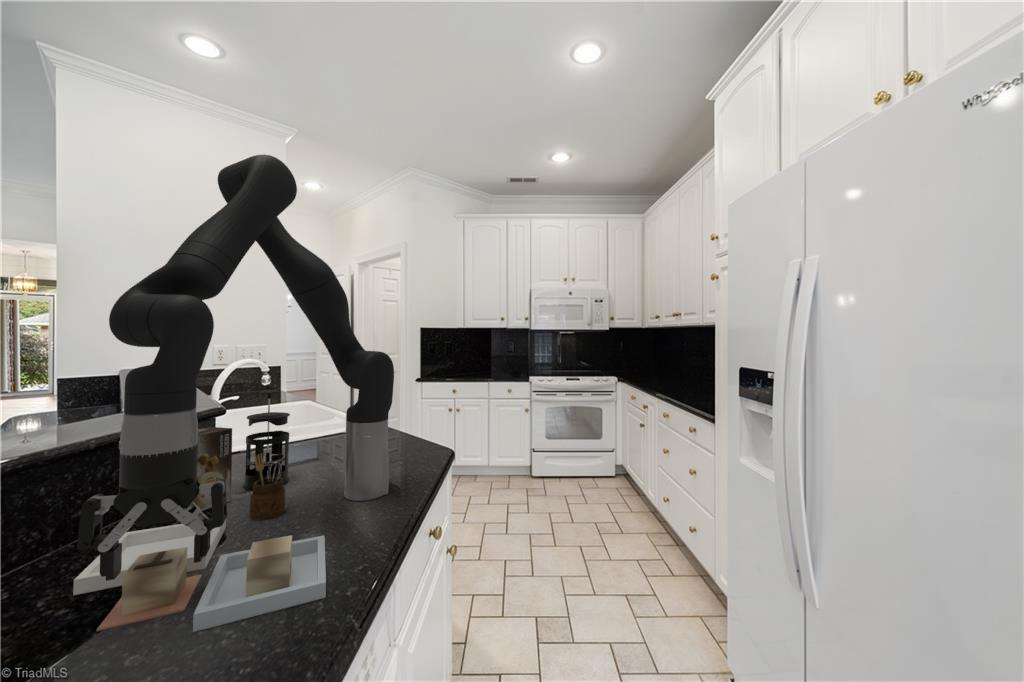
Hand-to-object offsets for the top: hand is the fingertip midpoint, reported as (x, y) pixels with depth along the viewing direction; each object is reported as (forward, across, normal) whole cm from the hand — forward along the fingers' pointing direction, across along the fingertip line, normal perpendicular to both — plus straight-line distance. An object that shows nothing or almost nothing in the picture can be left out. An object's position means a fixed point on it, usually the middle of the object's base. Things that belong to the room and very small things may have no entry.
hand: (157, 567), depth 50 cm
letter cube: (+4, 0, 0) cm, 4 cm away
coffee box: (+5, +3, -34) cm, 35 cm away
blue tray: (+5, -13, +2) cm, 14 cm away
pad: (+5, 0, 0) cm, 5 cm away
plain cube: (+4, -13, +2) cm, 14 cm away
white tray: (+5, +3, -13) cm, 14 cm away
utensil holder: (+5, -10, -24) cm, 26 cm away
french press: (+5, -8, -45) cm, 46 cm away
